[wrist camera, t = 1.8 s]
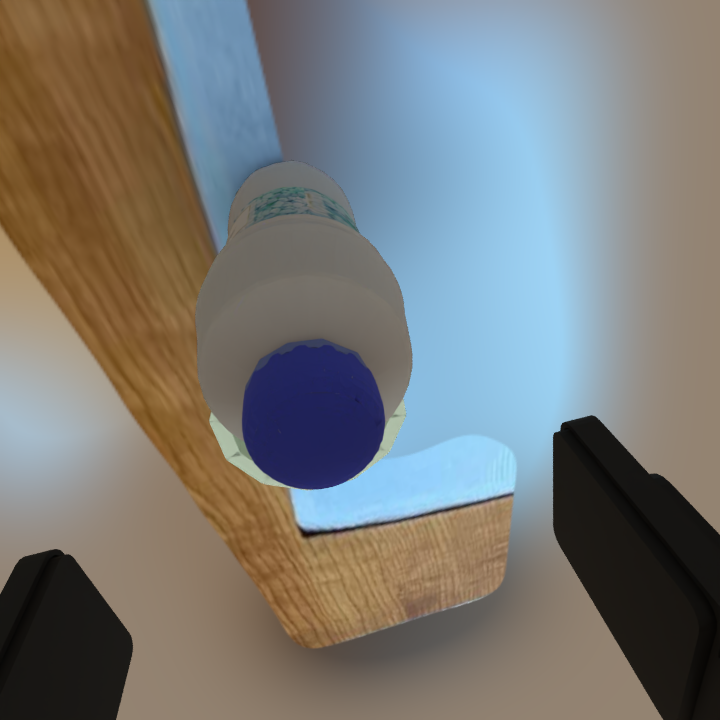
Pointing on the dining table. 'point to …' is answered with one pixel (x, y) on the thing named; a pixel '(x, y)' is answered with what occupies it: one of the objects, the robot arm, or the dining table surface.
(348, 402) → the bottle
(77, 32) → the dining table surface
